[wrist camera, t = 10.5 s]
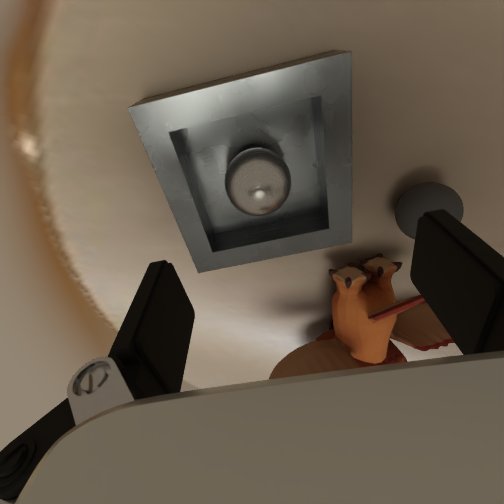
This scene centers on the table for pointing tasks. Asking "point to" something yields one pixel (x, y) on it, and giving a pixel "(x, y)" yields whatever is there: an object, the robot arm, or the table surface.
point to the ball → (426, 205)
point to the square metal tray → (256, 136)
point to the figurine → (366, 324)
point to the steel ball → (257, 182)
